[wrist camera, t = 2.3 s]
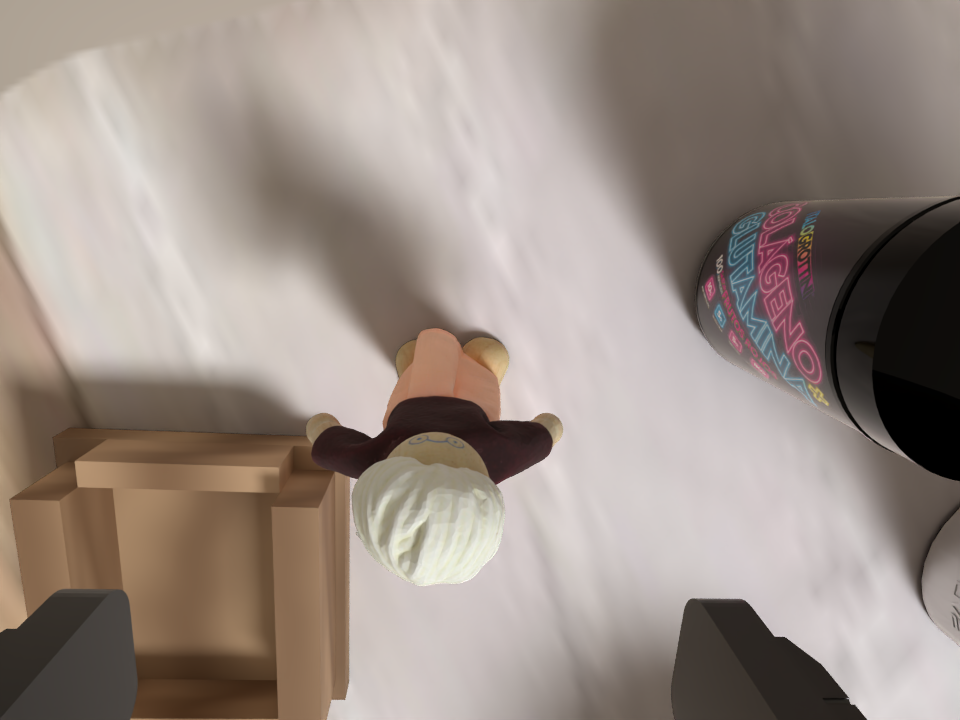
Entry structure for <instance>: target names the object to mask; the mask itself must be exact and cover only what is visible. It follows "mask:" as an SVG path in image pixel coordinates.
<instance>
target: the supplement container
mask: <svg viewBox="0 0 960 720" xmlns="http://www.w3.org/2000/svg"><path fill="white" fill-rule="evenodd" d="M695 307H696V314H697V318H698V322H699V325H700V327H701V330H702V332H703V334H704V336H705V338H706V340H707V341H708V343H709V344H710V345H711V347H712V348H713V349H714V350H715V351H716V352H717V353H718V354H719V355H720V356H721V357H723V358H724V359H725V360H727V361H728V362H730V363H732V364H734V365H735V366H737V367H739V368H741V369H743V370H745V371H747V372H748V373H750V374H752V375H754V376H756V377H758V378H760V379H761V380H763V381H765V382H767V383H769V384H771V385H773V386H774V387H776V388H778V389H780V390H782V391H784V392H786V393H787V394H789V395H791V396H793V397H795V398H797V399H799V400H801V401H802V402H804V403H806V404H808V405H810V406H812V407H814V408H815V409H817V410H819V411H821V412H823V413H825V414H827V415H828V416H830V417H832V418H834V419H836V420H838V421H840V422H841V423H843V424H845V425H847V426H849V427H851V428H853V429H854V430H856V431H858V432H860V433H861V434H862V435H864V436H865V437H866V438H868V439H869V440H870V441H872V442H874V443H876V444H877V445H879V446H881V447H883V448H885V449H887V450H889V451H892V452H894V453H896V454H898V455H900V456H902V457H904V458H906V459H908V460H909V461H911V462H913V463H915V464H917V465H919V466H920V467H922V468H924V469H926V470H928V471H930V472H932V473H935V474H937V475H939V476H942V477H945V478H949V479H952V480H957V481H960V195H956V196H932V197H901V198H870V199H839V200H808V201H783V202H776V203H771V204H767V205H764V206H761V207H759V208H756V209H754V210H752V211H750V212H748V213H746V214H744V215H743V216H741V217H740V218H738V219H737V220H736V221H734V222H733V223H732V224H730V225H729V226H728V227H727V228H726V229H725V230H724V231H723V232H722V233H721V234H720V235H719V236H718V238H717V239H716V240H715V241H714V243H713V244H712V245H711V247H710V249H709V250H708V252H707V254H706V255H705V258H704V260H703V262H702V264H701V267H700V269H699V273H698V276H697V281H696V287H695Z"/></svg>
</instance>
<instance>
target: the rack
mask: <svg viewBox="0 0 960 720" xmlns="http://www.w3.org/2000/svg"><path fill="white" fill-rule="evenodd" d="M53 443H54V450H55V458H56V466H57V469H55V470H54V471H52V472H51V473H49V474H48V475H46V476H45V477H43V478H42V479H40V480H39V481H37V482H35V483H34V484H32V485H31V486H29V487H28V488H26V489H25V490H23V491H22V492H20V493H19V494H17V495H16V496H14V497H12V498H11V499H9V500H10V507H11V513H12V520H13V526H14V532H15V539H16V545H17V552H18V558H19V565H20V571H21V578H22V584H23V591H24V597H25V604H26V610H27V617H29V616H31V615H32V614H33V613H34V612H35V611H36V610H37V609H38V608H39V607H40V606H41V605H42V604H43V603H44V602H45V601H46V600H47V599H48V598H49V597H50V596H51V595H52V594H53V593H55V592H56V591H58V590H61V589H120V590H123V591H124V592H125V593H126V594H127V596H128V599H129V603H130V612H131V621H132V631H133V640H134V650H135V659H136V669H137V679H138V687H137V696H136V701H135V705H134V709H133V713H132V716H131V718H130V720H326V719H327V715H328V711H329V707H330V703H331V700H345V698H346V693H347V689H348V684H349V517H350V477H348V476H345V475H343V474H340V473H338V472H334V471H331V470H327V469H325V468H322V467H320V466H319V465H317V464H316V463H315V462H314V461H313V460H312V457H311V451H312V446H313V445H312V443H311V442H310V440H309V439H308V437H307V436H286V435H257V434H229V433H200V432H172V431H144V430H115V429H87V428H68V429H67V430H65V431H63V432H61V433H60V434H58V435H56V436H54V437H53Z"/></svg>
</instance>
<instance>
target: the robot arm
mask: <svg viewBox="0 0 960 720" xmlns="http://www.w3.org/2000/svg"><path fill="white" fill-rule="evenodd" d="M922 594H923V600H924V603H925V606H926V609H927V612H928V615H929V616H930V617H931V619H932V620H933V622H934V623H935V624H936V626H937V627H938V628H939V629H940V630H941V631H942V632H943V633H945V634H946V635H947V636H948V637H949V638H950V639H952V640H953V641H954V642H955V643H956V644H957V645H959V646H960V508H959V509H958V510H957V511H956V512H955V514H954V515H953V516H952V517H951V518H950V519H949V520H948V521H947V522H946V523H945V525H944V526H943V527H942V529H941V530H940V532H939V534H938V535H937V537H936V538H935V540H934V541H933V543H932V545H931V548H930V550H929V553H928V555H927V558H926V560H925V563H924V569H923V575H922ZM137 687H138V679H137V669H136V659H135V650H134V640H133V631H132V621H131V612H130V603H129V599H128V596H127V594H126V593H125V592H124V591H123V590H120V589H61V590H58V591H56V592H55V593H53V594H52V595H51V596H50V597H49V598H48V599H47V600H46V601H45V602H44V603H43V604H42V605H41V606H40V607H39V608H38V609H37V610H36V611H35V612H34V613H33V614H32V615H31V616H29V617H28V618H27V619H26V620H25V621H24V622H23V623H22V624H21V625H20V626H19V627H18V628H17V629H6V630H4V631H2V632H1V633H0V720H130V718H131V716H132V713H133V709H134V705H135V701H136V696H137ZM671 700H672V708H673V714H674V719H675V720H867V719H866V718H865V717H864V715H863V714H862V713H861V712H860V711H859V709H858V708H857V707H856V706H855V705H851V704H850V702H849V697H848V696H847V695H846V694H845V692H844V691H843V690H842V689H841V688H840V686H839V685H838V684H837V683H836V682H835V680H834V679H833V678H832V677H831V676H830V674H829V673H828V672H827V671H826V670H825V668H824V667H823V666H822V665H821V664H820V663H819V662H817V661H816V660H815V659H813V658H812V657H811V656H809V655H808V654H807V653H805V652H804V651H803V650H801V649H800V648H799V647H797V646H796V645H795V644H793V643H792V642H791V641H789V640H788V639H787V638H785V637H774V635H773V634H772V633H771V632H770V630H769V629H768V628H767V626H766V625H765V624H764V623H763V621H762V620H761V619H760V617H759V616H758V615H757V613H756V612H755V611H754V610H753V608H752V607H751V606H750V605H749V604H748V603H747V602H746V601H744V600H742V599H694V598H693V599H690V600H689V601H688V602H687V604H686V606H685V609H684V614H683V619H682V625H681V631H680V637H679V643H678V649H677V654H676V660H675V666H674V672H673V678H672V685H671Z"/></svg>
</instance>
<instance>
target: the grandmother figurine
mask: <svg viewBox="0 0 960 720" xmlns="http://www.w3.org/2000/svg"><path fill="white" fill-rule="evenodd" d="M508 365H509V355H508V352H507V350H506V348H505V347H504V346H503V345H502V344H501V343H500V342H498V341H496V340H494V339H490V338H485V337H479V338H475V339H473V340H471V341H469V342H468V343H467V344H465V346H464V347H463V349H462V347H461V345H460V343H459V342H458V340H457V339H456V337H455V336H454V335H453V334H451V333H449V332H447V331H445V330H442V329H439V328H432V329H426V330H423V331H421V332H420V334H419V335H418V338H417V340H412V341H409V342H407V343H406V344H404V345H403V346H402V347H401V348H400V349H399V351H398V353H397V356H396V368H397V372H398V375H399V380H398V382H397V384H396V386H395V388H394V390H393V393H392V395H391V397H390V400H389V402H388V405H387V410H386V413H385V416H384V419H383V428H384V430H383V431H382V433H380V434H379V435H378V436H377V437H375V438H371V437H369V436H367V435H366V434H364V433H361V432H359V431H356V430H354V429H350V428H346V427H343V426H341V425H340V423H339V422H338V420H337V419H336V418H335V417H334V416H332V415H330V414H327V413H321V414H317V415H315V416H313V417H312V418H311V419H310V420H309V422H308V423H307V426H306V435H307V437H308V439H309V440H310V442H311V443H312V445H313V446H312V451H311V457H312V460H313V461H314V462H315V463H316V464H317V465H319V466H320V467H322V468H325V469H327V470H331V471H334V472H338V473H340V474H343V475H345V476H348V477H351V478H355V479H358V481H357V482H356V484H355V486H354V489H353V492H352V511H353V516H354V523H355V526H356V529H357V531H358V532H356V535H357V536H358V537H359V538H360V539H361V540H362V542H363V544H364V546H365V548H366V549H367V551H368V552H369V553H370V554H371V556H372V557H373V558H374V559H375V560H376V561H377V562H378V563H380V564H381V565H383V566H384V567H385V568H386V569H387V570H388V571H390V572H392V573H394V574H396V575H397V576H398V577H400V578H401V579H403V580H405V581H408V582H410V583H413V584H415V585H419V586H428V585H433V584H441V583H448V584H458V583H463V582H466V581H468V580H470V579H472V578H473V577H474V576H475V575H476V574H477V573H478V572H479V570H480V569H481V568H482V567H483V565H484V564H486V563H487V562H488V561H489V560H491V559H492V558H493V556H494V555H495V553H496V552H497V549H498V547H499V544H500V542H501V537H502V533H503V527H504V519H505V508H504V501H503V496H502V493H501V491H500V490H499V488H498V487H497V486H496V484H498V483H500V482H502V481H503V480H505V479H507V478H509V477H512V476H514V475H516V474H518V473H520V472H522V471H524V470H525V469H528V468H529V467H531V466H533V465H534V464H536V463H538V462H540V461H542V460H543V459H545V458H546V457H547V456H548V455H549V454H550V452H551V449H552V447H553V446H554V444H555V443H557V442H558V441H559V440H560V438H561V436H562V433H563V426H562V423H561V421H560V420H559V418H558V417H556V416H555V415H553V414H550V413H543V414H540V415H538V416H537V417H535V418H534V420H532V421H502V420H500V414H501V408H500V388H499V386H500V383H501V381H502V379H503V377H504V375H505V373H506V370H507V368H508Z"/></svg>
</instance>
